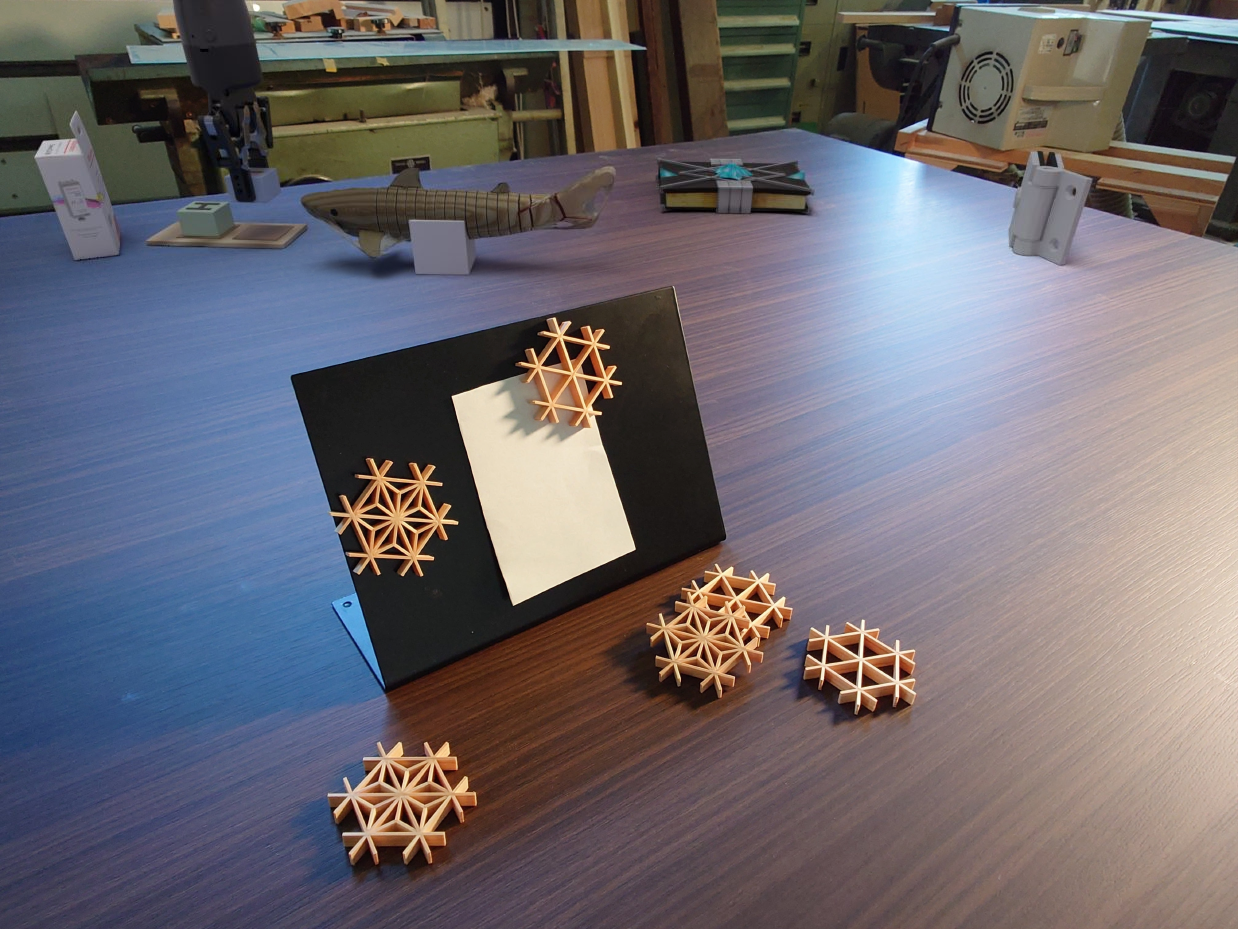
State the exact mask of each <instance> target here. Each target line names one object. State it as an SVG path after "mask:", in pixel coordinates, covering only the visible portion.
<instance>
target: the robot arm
mask: <svg viewBox="0 0 1238 929" xmlns="http://www.w3.org/2000/svg"><path fill="white" fill-rule="evenodd" d="M172 5H173V12H174V13H173V14H174V19H175V23H176V26H177V29H178V34H179V37H180V38H179V39H180V42H181V46H182V50H183V54H184V56H185V61H186V64H187V68H188V73H189V76H190V80H191V83H192V85H193V86H194V87H196V88H199V89H203V90H204V91H205V92H206V93H207V99H208V111H209V112H208V114H207V115H198V116H197V119H196V120H197V124H198V127H199V129H200V132H201V134H202V137H203V139H204V142H205V144H206V146H207V149H208V151H209V154H210V156H211V158H212V161H213V163H214V165H215V167H216V168H218V169H225V170H227V171H228V174H230V178H231V182H232V185H233V189H234V193H235V197H236V200H237V201H238V202H237V203H242V202H253V201H255V200H256V195H255V191H254V186H253V182H252V178H251V173H250V169H248V168H270V165H269V162H268V158H269V157H270V150H273V149H274V146H275V145H274V143H275V142H274V133H273V125H272V124H273V123H272V113H271V105H270V99H269V97H268V96H267V95H266V96H264V95H256V92H255V90H254V88H255V87H258V86H260V85H261V84H263V82H264V74H263V70H262V65H261V61H260V56H259V51H258V47H257V42H256V38H255V33H254V29H253V24H252V20H251V16H250V11H249V8H248V5H247V3H246V0H172ZM253 87H254V88H253ZM233 139H235V140H233ZM220 150H221V151H220Z"/></svg>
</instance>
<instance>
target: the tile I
mask: <svg viewBox="0 0 1238 929" xmlns="http://www.w3.org/2000/svg"><path fill="white" fill-rule="evenodd" d="M248 169H250V173H251V178H252V182H253V186H254V191H255V195H256V200H255V201H253V202H241V204H243V203H244V204H245V203H247V204H248V203H249V204H252V203H253V204H268V203H269V202H271V201H272V200H274V199H275V198H276V197H278V196H279V195H280V194H282V188H281V184H280V180H279V174H278V170H277V168H276V167H269V168H249V167H248ZM223 178H224V179H223V180H224V183H225V186H226V190H227V195H228V198H229V201H230V202H229V203H239V202H238V201H237V200H236V197H235V193H234V189H233V185H232V182H231V178H230V174H229V173H228V174H227V175H225V176H224V177H223Z"/></svg>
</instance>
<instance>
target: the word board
mask: <svg viewBox="0 0 1238 929" xmlns="http://www.w3.org/2000/svg"><path fill="white" fill-rule="evenodd" d="M234 224H235V226H234V227H232V228H231V229H229V230H228V231H226V232H225V233H224V234H222V235H221V236H219V237H212V236H183V232H182V229H181V225H180V222H179V220H177V221H175V222H174V223H172V224H170V225H169V226H167V227H165V228H163V229H162V230H160V231H159V232H157V233H156V234H154V235H152V236H150V237H149V238H147V239H146V240H145V243H146V244H145V245H146V246H156V245H164V246H163V247H196V246H203V248H237V249H238V248H239V249H240V248H242V249H278V250H279V249H281V250H284V249H285V248H287V247H288V246H289V245H290V244H292V243H293V242H294V241H295V240H296V239H297V238H299V237H300V236H301V235H302V234H303V233H304V232H305V231H307V230H308V228H309V227H308V224H307V223H279V222H242V221H241V222H239V221H234ZM165 245H166V246H165ZM168 245H169V246H168ZM204 246H205V247H204Z"/></svg>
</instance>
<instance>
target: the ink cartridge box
mask: <svg viewBox="0 0 1238 929" xmlns="http://www.w3.org/2000/svg"><path fill="white" fill-rule="evenodd" d="M70 119H71V120H70V122H69V127H70V129H71V132H72V133H73V136H74V138H67V139H66V138H65V139H52V140H51V139H50V140H43V141H42V142H41V144H40V146H39V148H38V149H37V152H36V154H35V155H34V161H35V163H36V164H37V167H38V171H39V172H40V176H41V177H42V180H43V182H44V185H45V188H46V190H47V193H48V195H49V199H50V200H51V203H52V206H53V208H54V210H55V214H56V216H57V219H58V221H59V224H60V226H61V229H62V231H63V234H64V237H65V239H66V241H67V245H68V246H69V249H70V252H71V254H72V258H73V260H74V261H79V260H80V259H81V260H88V259H89V258H90V259H97V257H98V258H104V257H105V258H106V257H112V256H113V257H114V256H119V255H120V249H121V238H122V236H121V234H122V233H121V229H120V226H119V223H118V221H117V218H116V214H115V212H114V209H113V206H112V203H111V200H110V196H109V194H108V190H107V187H106V185H105V182H104V181H105V180H104V179H103V178H104V177H103V176H102V172H101V170H100V166H99V163H98V161H97V158H96V155H95V151H94V148H93V145H92V142H91V139H90V137H89V135H88V132H87V129H86V128H85V126H84V124H83V121H82V119H81V117H80V114H79V112H78V110H75V111H74V114H73V116H72V118H70ZM78 129H79V130H78ZM79 131H80V133H79ZM90 259H89V260H90ZM81 260H80V261H81Z"/></svg>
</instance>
